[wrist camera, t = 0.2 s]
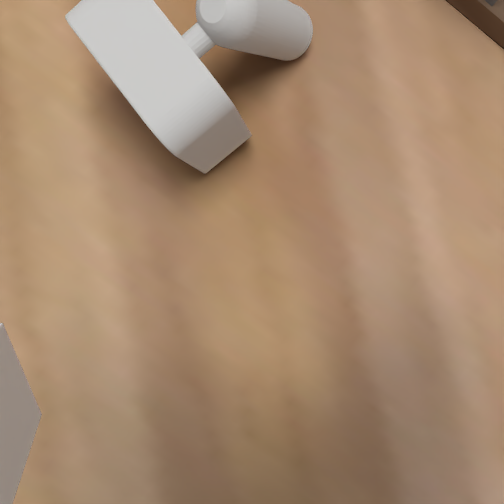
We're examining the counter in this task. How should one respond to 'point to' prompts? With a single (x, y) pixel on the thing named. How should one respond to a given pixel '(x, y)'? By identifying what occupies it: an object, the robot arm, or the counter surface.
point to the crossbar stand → (484, 16)
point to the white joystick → (186, 64)
